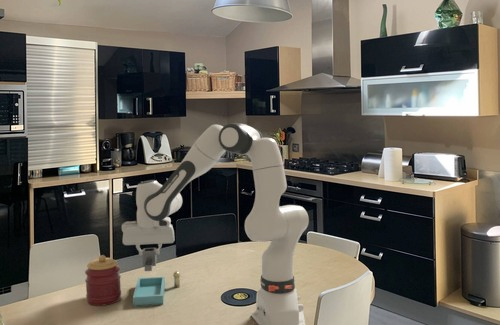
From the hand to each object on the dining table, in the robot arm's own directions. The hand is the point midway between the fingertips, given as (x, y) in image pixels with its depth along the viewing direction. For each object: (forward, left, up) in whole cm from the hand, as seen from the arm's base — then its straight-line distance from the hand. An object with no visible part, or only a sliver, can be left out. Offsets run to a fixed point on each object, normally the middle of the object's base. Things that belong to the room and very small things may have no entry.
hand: (149, 254), depth 182 cm
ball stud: (+4, -11, -16) cm, 19 cm away
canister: (-4, +17, -16) cm, 24 cm away
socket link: (-3, 0, -4) cm, 5 cm away
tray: (-3, 0, -16) cm, 16 cm away
